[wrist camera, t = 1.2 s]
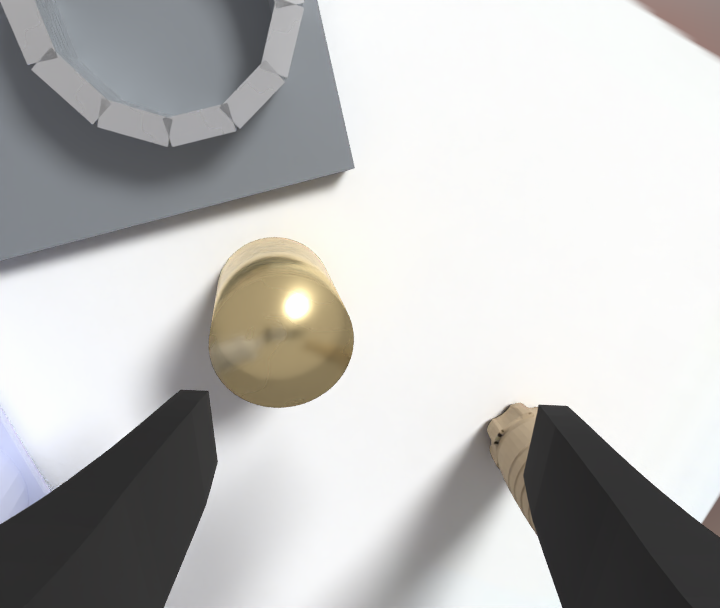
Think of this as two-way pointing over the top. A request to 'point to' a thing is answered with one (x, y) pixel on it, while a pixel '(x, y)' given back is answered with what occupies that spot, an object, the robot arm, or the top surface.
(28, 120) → the board
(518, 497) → the handle
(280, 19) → the wide collar
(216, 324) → the brass peg
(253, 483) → the top surface
